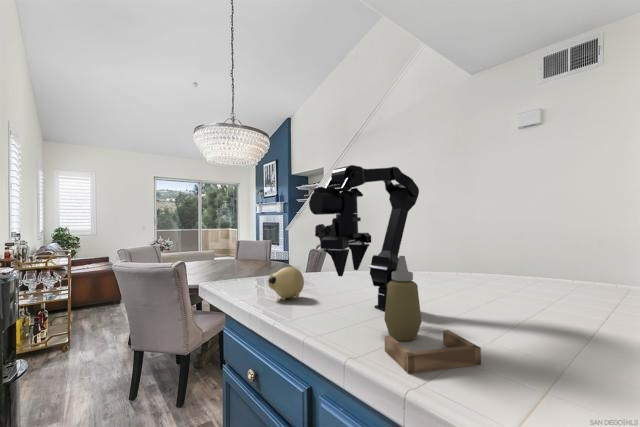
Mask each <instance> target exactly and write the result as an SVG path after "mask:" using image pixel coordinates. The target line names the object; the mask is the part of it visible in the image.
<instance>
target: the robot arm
mask: <svg viewBox="0 0 640 427" xmlns="http://www.w3.org/2000/svg"><path fill="white" fill-rule="evenodd" d="M393 181H395V182H396V183H395V184H394V183H393ZM374 182H383V183H384V187H385V188H384V189H385V191H386V192H387V194H388V195H389V200H388V201H389V203H390V207H391V211H390V215H389V219H388V224H387V226H386V230H385V231H386V232H385V234H384V235H385V236H384V239H383V242H382V243H383V244H382V247H381V251H380V252H379V253H378V255H377V254H374V255H373V256H372V257H371V263H370V265H369V267H368V268H369V276H370V278H371V282H372V286H373V287H377V288H378V290H377V292H378V293H377V304H376V305H374V308H375V309H378V310H382V311H385V306H386V295H387V284H388V283H389V282H390V281H392V280H393V279H392V271H396V269H397V265H398V260H399V252H400V249H401V244H402V239H403V236H404V232H405V228H406V227H405V226H406V222H407V218H408V214H409V212H410V210H411V209H412V208H413V207H414V206H415V205H416V203H417V200H418V198H419V193H420V188H419V186H418V185H417V184H416V183H415V181H414V180H413V178H412V177H410V176H409V175H407V174H406V173H403V171H402V170H401V169H400V168H399V167H397V166H391V167H381V168H380V167H379V168H363V166H359V165H355V164H354V165H353V164H351V165H347V166H342V167H338V168H334V169H333V170H332V172H331V176H330V178H329V180H328V182H327V184H326V185H325V187H323V186H315V187H314V188H313V192H312V194H311V196H310V198H309V201H308V207H309V210H310V212H311V213H312V214H313V215H319V216H320V215H322V216H323V215H335V217H333V218H332V220H331V224H330V225H325V224H324V223H320V224H318V225H315V226H314V227H315V228H314V229H315V231H314V232H315V233H314V236H315V237H316V238H318V239H319V246H320V249H321V250H323V252H325V253H327V254H328V255H329V256H330V258H331V260H332V262H333V265H334V267H335V270H336V273H337V276H338V277H343V276H344V272H345V269H346V264H347V262H348V256H349V253H350V252H351V261H352V265H353V266H352V267H353V270H354V271H358V270H359V268H360V266H361V264H362V261H363V259H364V257H365V255H366V252H367V250H368V248H369V246H370V244H371V243H372V235H371V234H370V233H369V232H359V222H361V221H362V220H361V219H362V218H361V217H360V216H358V213H359V212H358V198H359V197H360V198H361V197H363V196H364V194H363V193H362V191H360V190H359V188H358V187H359V186H362V185H364V184H366V183H374Z"/></svg>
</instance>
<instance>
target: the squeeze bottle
mask: <svg viewBox="0 0 640 427" xmlns="http://www.w3.org/2000/svg"><path fill="white" fill-rule="evenodd" d="M398 258H399V260H398V265H397V269H396V271H392V279H393V280H392V281H390V282H389V283H388V284H387V295H386V306H385V310H384V318H383V320H384V322H385V326H386V329H387V331H388V335H390V336H392V337H393V338H394V339H395V340H397V341H404V342H405V341H407V342H409V341H414V340H416V339H417V336H418V334H419V330H420V327H421V325H422V322H423V321H422V317H421V316H422V314H421V304H420V298H419V288H418V284H417V283H416V281H413V280H414V272H412V271H409V268H408V264H407V260H406V256H405V255H398Z"/></svg>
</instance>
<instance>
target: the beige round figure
mask: <svg viewBox="0 0 640 427" xmlns="http://www.w3.org/2000/svg"><path fill="white" fill-rule="evenodd" d="M267 285H268V287H269V288H270V289H271V290H272V291H274V292H275V294H277V296H279V297H280V300H281V301H285V300H286V299H291V298H294V297H295V298H298V297H300V294H301V293H302V291H303V289H304V286H305V278H304V276H303V274H302V272H301V271H300V270H299V269H298V268H296V267H292V266H287V267H283V268H281V269H279V270H277V272H273V273H271V274H270V275H269V277H268V278H267Z"/></svg>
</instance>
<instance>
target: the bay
mask: <svg viewBox="0 0 640 427" xmlns="http://www.w3.org/2000/svg"><path fill="white" fill-rule="evenodd" d="M442 341H443V342H442V345H443V346H444V347H446V348H437V349H436V348H435V349H434V348H433V349H425V350H418V351H410V350H409V349H408V348H406V346H404V345H403V344H402V343H400V341H399V340H397V339H394V338H393V337H392V336H390V335H389V334H388V335H387V334H386V335H384V352H385V353H386V354H387V355H388V356H389V357H390V358H391V359H392V360H393V361H394V362H396V364H398V365H399V367H401V369H403V370H404V372H406V373H407V374H415V373H416V374H417V373H424V372H425V373H426V372H431V371H438V370H439V371H440V370H447V369H456V368H462V367H470V366H471V367H472V366H479V365H481V364H482V354H481V353H482V352H481V350H482V349H481V346H478V345H476V344H475V343H473V342H472V341H470V340H467V339H466V338H464V337H462V336H460V335H458V334H456V333H455V332H453V331H451V330H449V329H444V330H442Z"/></svg>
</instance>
